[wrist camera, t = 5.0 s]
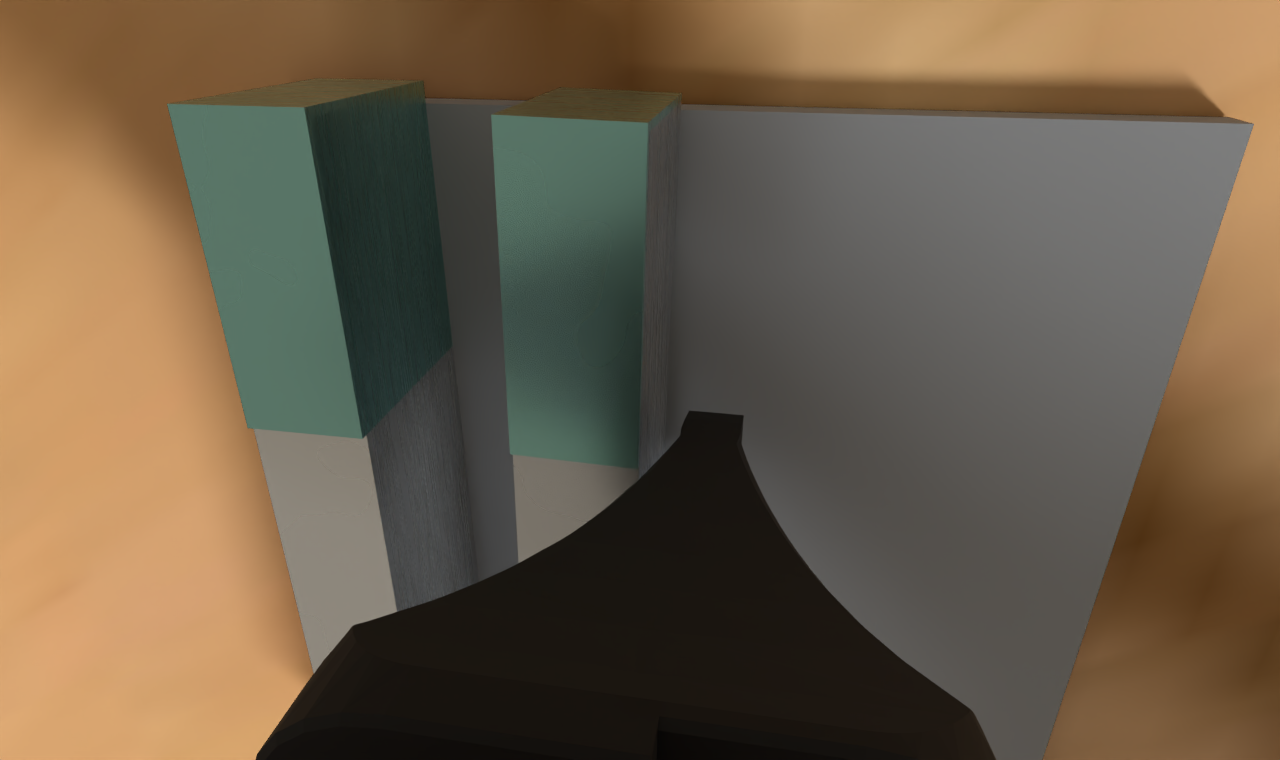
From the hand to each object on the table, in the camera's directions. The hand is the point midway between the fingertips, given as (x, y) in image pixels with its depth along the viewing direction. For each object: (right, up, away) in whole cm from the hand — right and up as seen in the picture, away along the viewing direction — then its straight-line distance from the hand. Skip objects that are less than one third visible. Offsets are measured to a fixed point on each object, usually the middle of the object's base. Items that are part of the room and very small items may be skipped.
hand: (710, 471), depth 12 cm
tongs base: (-3, -4, +4) cm, 7 cm away
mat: (0, -5, +4) cm, 6 cm away
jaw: (-1, -1, +2) cm, 2 cm away
